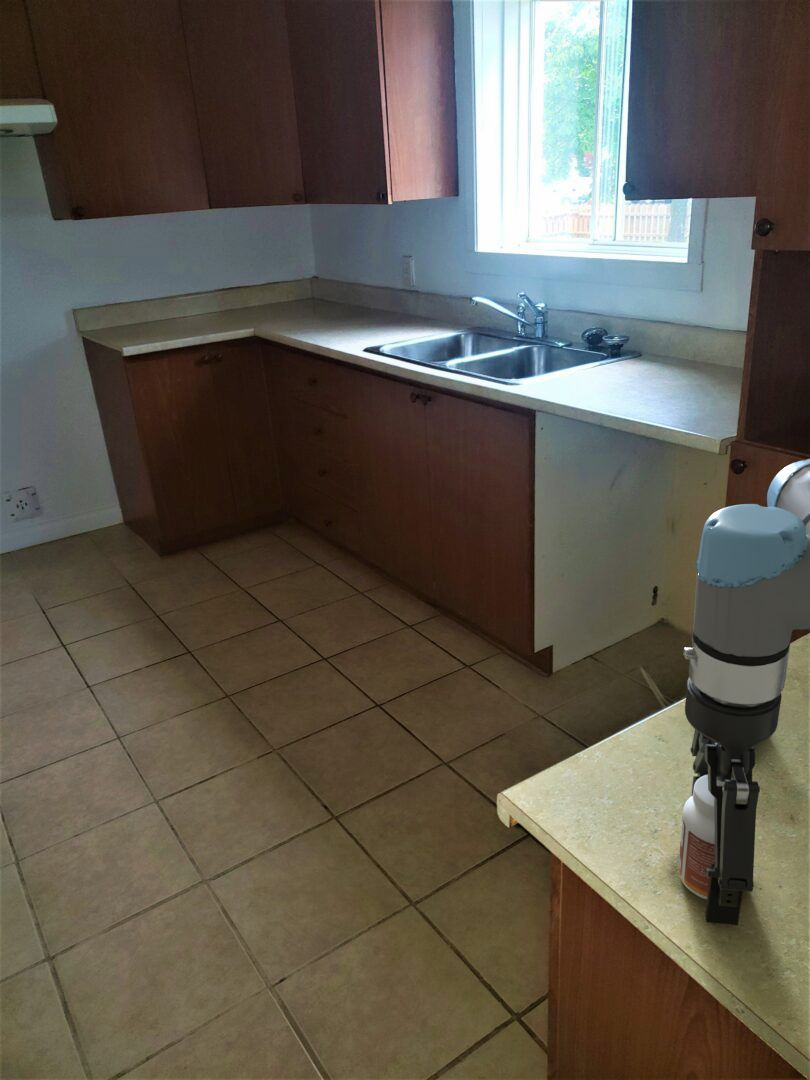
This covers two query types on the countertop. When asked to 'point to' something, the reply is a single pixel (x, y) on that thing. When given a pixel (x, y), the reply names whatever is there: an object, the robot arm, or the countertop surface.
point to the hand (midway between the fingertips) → (711, 871)
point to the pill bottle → (698, 838)
